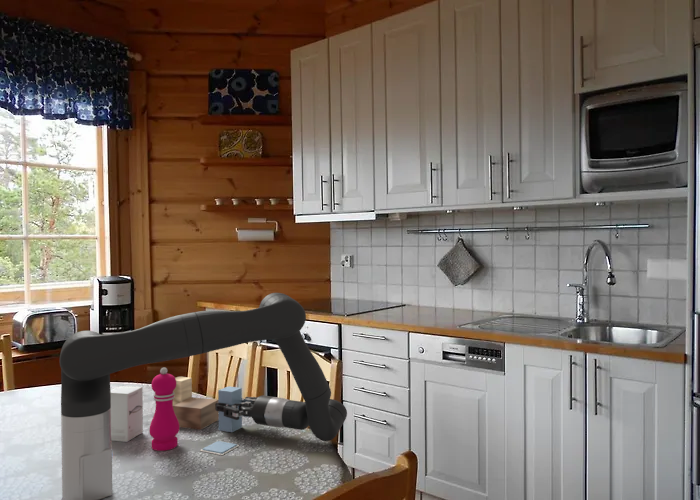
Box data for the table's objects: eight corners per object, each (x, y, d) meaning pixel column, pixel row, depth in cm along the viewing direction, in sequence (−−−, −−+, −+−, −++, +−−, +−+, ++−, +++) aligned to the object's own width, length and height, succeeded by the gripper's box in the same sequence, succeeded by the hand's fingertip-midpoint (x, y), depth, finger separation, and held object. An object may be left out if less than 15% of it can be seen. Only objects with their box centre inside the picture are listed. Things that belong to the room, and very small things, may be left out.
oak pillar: (192, 414, 169) (191, 377, 168) (181, 418, 165) (181, 381, 164) (180, 412, 171) (180, 376, 170) (169, 416, 167) (169, 379, 166)
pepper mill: (143, 448, 141) (142, 369, 141) (165, 439, 147) (164, 363, 147) (164, 453, 137) (163, 372, 137) (185, 444, 144) (184, 366, 144)
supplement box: (128, 442, 145) (127, 393, 145) (102, 440, 147) (101, 392, 147) (144, 432, 153) (143, 386, 152) (119, 431, 154) (118, 385, 154)
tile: (239, 446, 142) (239, 444, 142) (222, 455, 136) (222, 453, 136) (217, 442, 145) (217, 440, 145) (200, 451, 139) (200, 448, 139)
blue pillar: (241, 427, 157) (241, 388, 156) (232, 432, 153) (231, 391, 152) (228, 425, 159) (228, 386, 158) (218, 430, 154) (218, 390, 154)
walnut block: (218, 420, 164) (218, 399, 163) (200, 430, 155) (200, 408, 155) (191, 417, 166) (191, 397, 166) (173, 427, 158) (172, 405, 158)
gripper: (288, 391, 156) (237, 384, 163) (258, 404, 143) (204, 397, 150) (288, 418, 156) (237, 410, 163) (258, 434, 143) (205, 425, 150)
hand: (222, 404), depth 157 cm, fingers closed on blue pillar, 4 cm apart
